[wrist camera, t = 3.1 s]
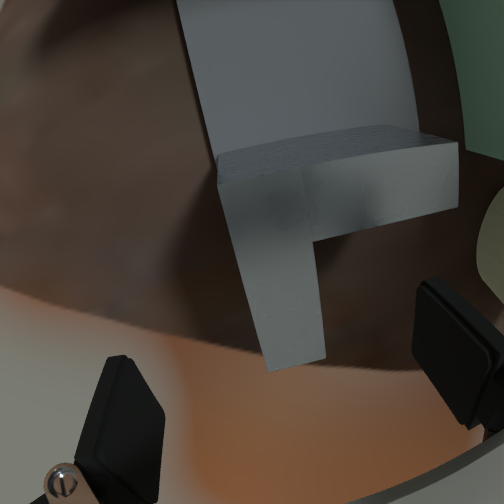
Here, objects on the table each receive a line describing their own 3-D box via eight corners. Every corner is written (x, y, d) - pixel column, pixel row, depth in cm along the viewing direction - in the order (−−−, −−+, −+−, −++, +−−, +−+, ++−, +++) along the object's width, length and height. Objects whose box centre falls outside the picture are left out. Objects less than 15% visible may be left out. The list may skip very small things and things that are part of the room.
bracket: (218, 154, 15) (216, 185, 9) (384, 124, 14) (457, 142, 9) (254, 294, 18) (268, 372, 13) (392, 259, 18) (445, 318, 13)
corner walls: (94, -47, 9) (49, -94, 4) (426, -71, 9) (478, -102, 4) (152, 212, 16) (117, 264, 10) (481, 148, 15) (550, 169, 10)
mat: (168, -34, 10) (168, -36, 10) (371, -50, 10) (373, -52, 10) (217, 170, 15) (217, 171, 15) (417, 134, 15) (420, 134, 15)
